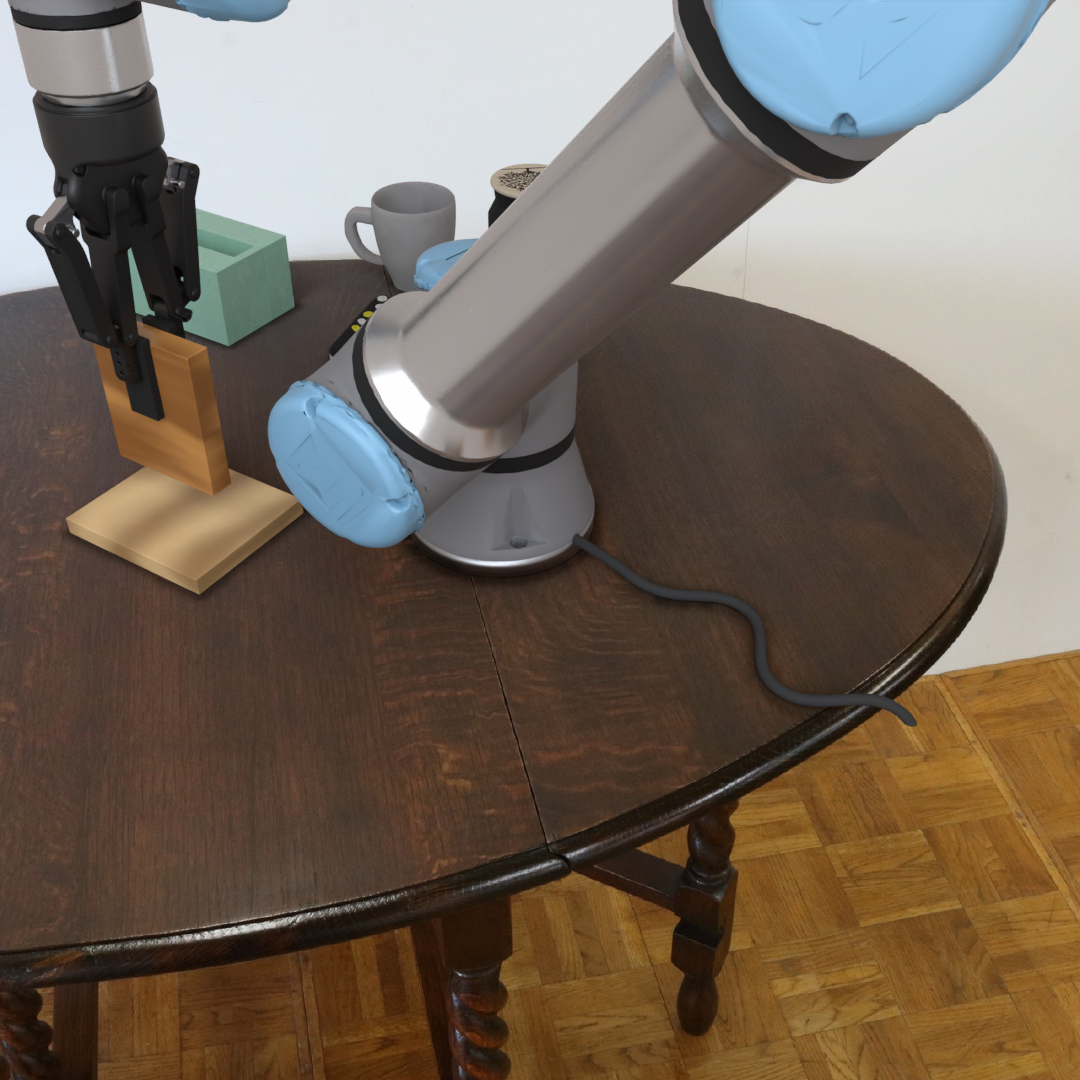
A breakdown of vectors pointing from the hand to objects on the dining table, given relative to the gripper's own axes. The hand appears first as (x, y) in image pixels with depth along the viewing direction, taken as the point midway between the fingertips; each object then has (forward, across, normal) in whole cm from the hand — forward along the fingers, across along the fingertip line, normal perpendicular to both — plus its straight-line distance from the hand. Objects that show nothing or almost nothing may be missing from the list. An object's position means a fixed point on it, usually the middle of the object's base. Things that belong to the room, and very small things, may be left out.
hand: (161, 404), depth 89 cm
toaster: (+11, -28, -24) cm, 38 cm away
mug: (+11, -44, -11) cm, 47 cm away
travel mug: (+11, -38, +9) cm, 41 cm away
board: (+11, 0, 0) cm, 11 cm away
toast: (+6, 0, 0) cm, 6 cm away
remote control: (+11, -32, -5) cm, 34 cm away
